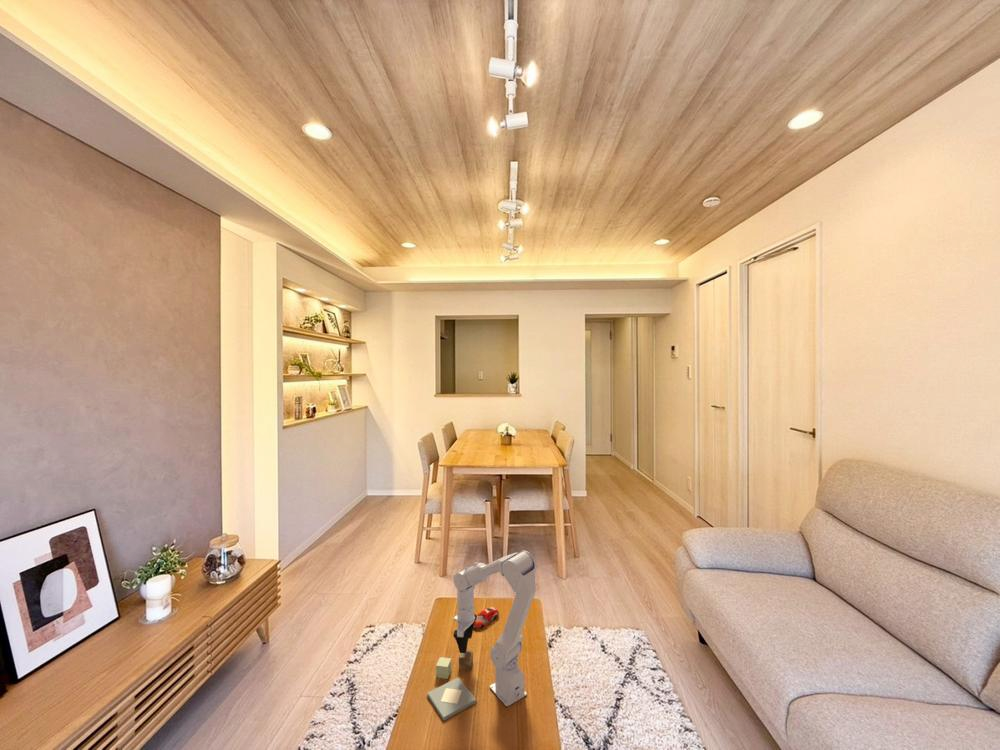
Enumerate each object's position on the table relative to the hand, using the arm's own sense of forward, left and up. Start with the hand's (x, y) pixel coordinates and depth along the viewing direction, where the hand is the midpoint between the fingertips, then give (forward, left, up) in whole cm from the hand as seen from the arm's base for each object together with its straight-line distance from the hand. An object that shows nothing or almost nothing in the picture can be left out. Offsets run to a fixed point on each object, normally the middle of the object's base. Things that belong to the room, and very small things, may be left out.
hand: (465, 644), depth 136 cm
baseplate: (-10, +11, -7) cm, 16 cm away
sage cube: (+1, +8, -7) cm, 11 cm away
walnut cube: (0, 0, -7) cm, 7 cm away
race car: (+17, -19, -8) cm, 27 cm away
